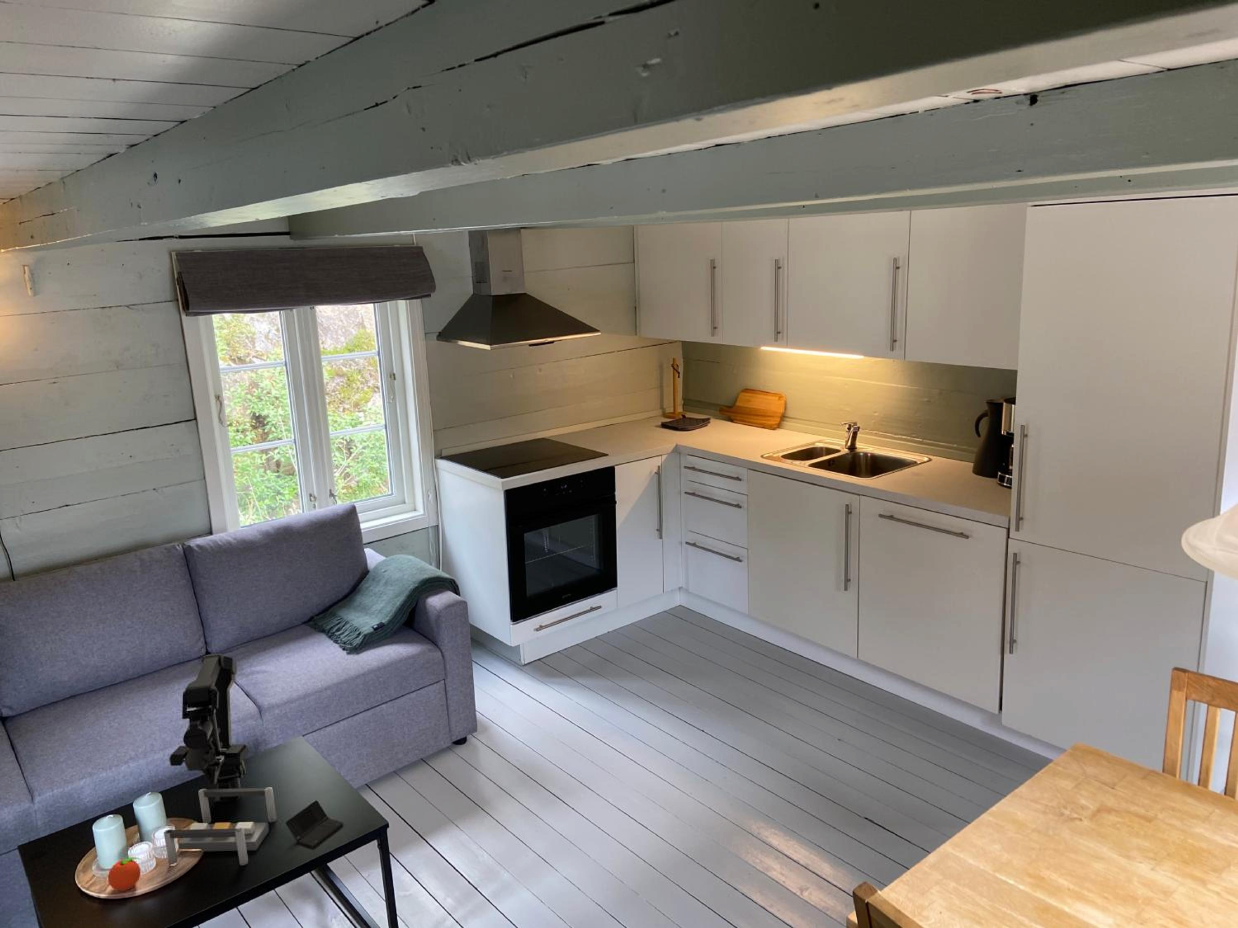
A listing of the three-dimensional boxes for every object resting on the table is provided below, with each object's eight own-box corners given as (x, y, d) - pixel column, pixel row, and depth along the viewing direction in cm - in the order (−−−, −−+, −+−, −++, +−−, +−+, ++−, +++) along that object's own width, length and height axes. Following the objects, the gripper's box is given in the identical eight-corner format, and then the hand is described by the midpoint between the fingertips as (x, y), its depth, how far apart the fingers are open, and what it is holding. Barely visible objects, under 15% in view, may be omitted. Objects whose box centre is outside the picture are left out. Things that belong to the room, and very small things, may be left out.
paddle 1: (195, 829, 238) (192, 823, 237) (210, 829, 238) (207, 822, 236) (191, 835, 236) (189, 829, 235) (207, 835, 236) (204, 829, 235)
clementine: (137, 871, 226) (133, 846, 225) (152, 881, 222) (148, 855, 221) (104, 890, 220) (100, 864, 218) (119, 900, 216) (114, 874, 214)
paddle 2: (240, 828, 237) (238, 822, 236) (255, 828, 237) (253, 821, 236) (237, 834, 236) (235, 828, 234) (252, 834, 235) (250, 828, 234)
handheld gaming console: (320, 843, 232) (299, 810, 233) (302, 857, 234) (281, 824, 235) (347, 823, 242) (327, 791, 244) (329, 836, 245) (309, 804, 246)
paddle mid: (217, 829, 238) (215, 822, 236) (232, 828, 237) (230, 822, 236) (214, 835, 236) (212, 828, 235) (229, 835, 236) (227, 828, 234)
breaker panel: (194, 832, 241) (193, 824, 241) (268, 830, 241) (267, 822, 240) (179, 851, 233) (178, 842, 233) (256, 849, 233) (255, 841, 232)
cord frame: (205, 819, 247) (200, 788, 245) (277, 817, 246) (273, 786, 244) (167, 866, 228) (162, 833, 226) (246, 864, 227) (241, 832, 225)
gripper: (153, 746, 229) (163, 802, 233) (226, 744, 229) (234, 800, 232) (176, 724, 240) (184, 778, 244) (245, 723, 240) (253, 776, 243)
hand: (213, 783), depth 240 cm, fingers closed
